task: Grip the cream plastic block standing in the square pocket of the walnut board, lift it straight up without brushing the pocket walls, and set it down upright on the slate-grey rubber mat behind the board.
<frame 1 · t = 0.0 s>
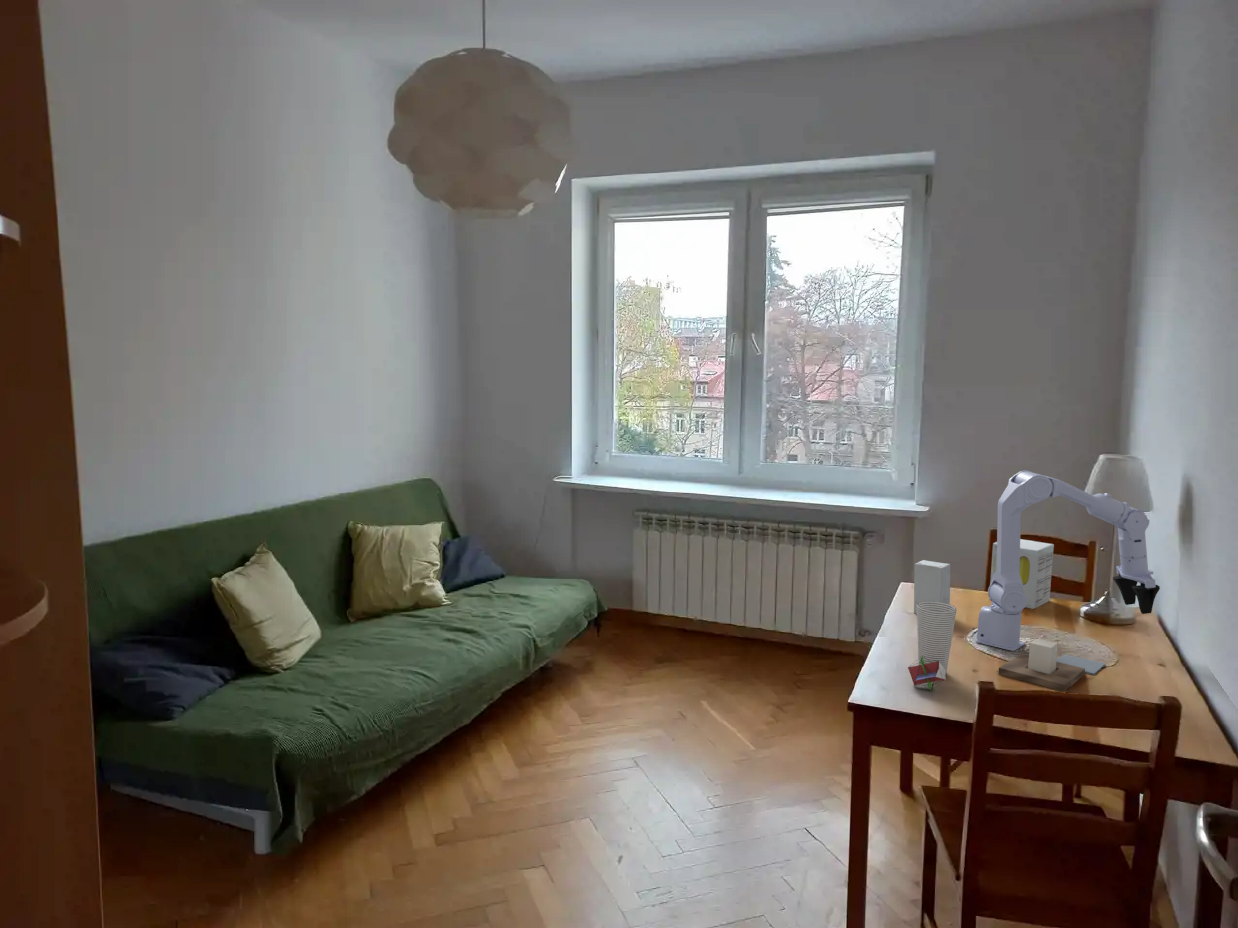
hand: (1138, 608, 210), 11 cm above the table, tool pointing down, fingers open, 7 cm apart
skincare box: (930, 615, 238), on the table
pocket board: (1041, 674, 193), on the table
slate mat: (1078, 664, 200), on the table
supplement box: (1018, 601, 254), on the table
cream block: (1042, 658, 193), in the pocket board
cup: (932, 672, 194), on the table
geometric puzzle: (925, 688, 185), on the table
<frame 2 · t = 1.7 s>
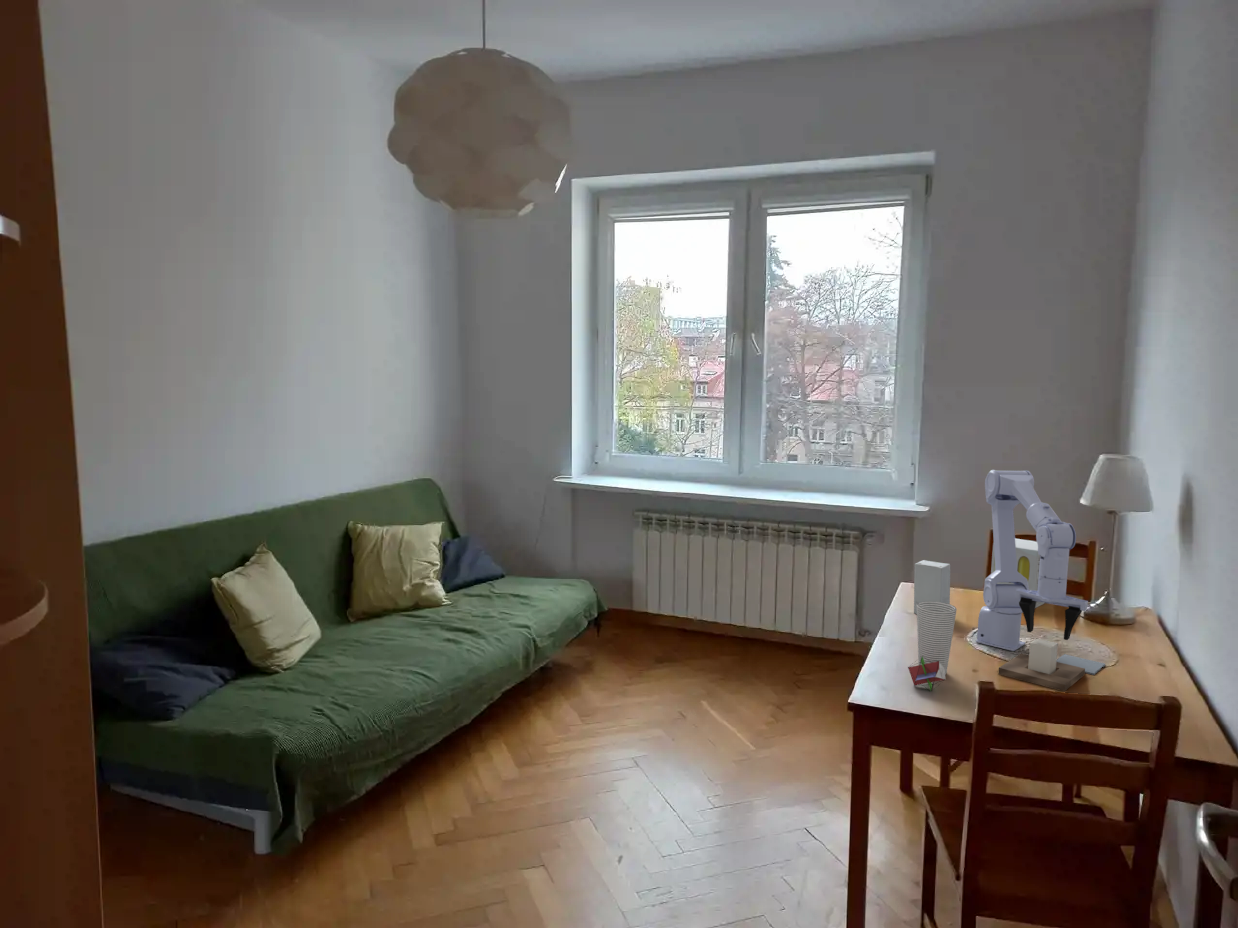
hand: (1048, 634, 192), 9 cm above the table, tool pointing down, fingers open, 7 cm apart
nothing on the table moved.
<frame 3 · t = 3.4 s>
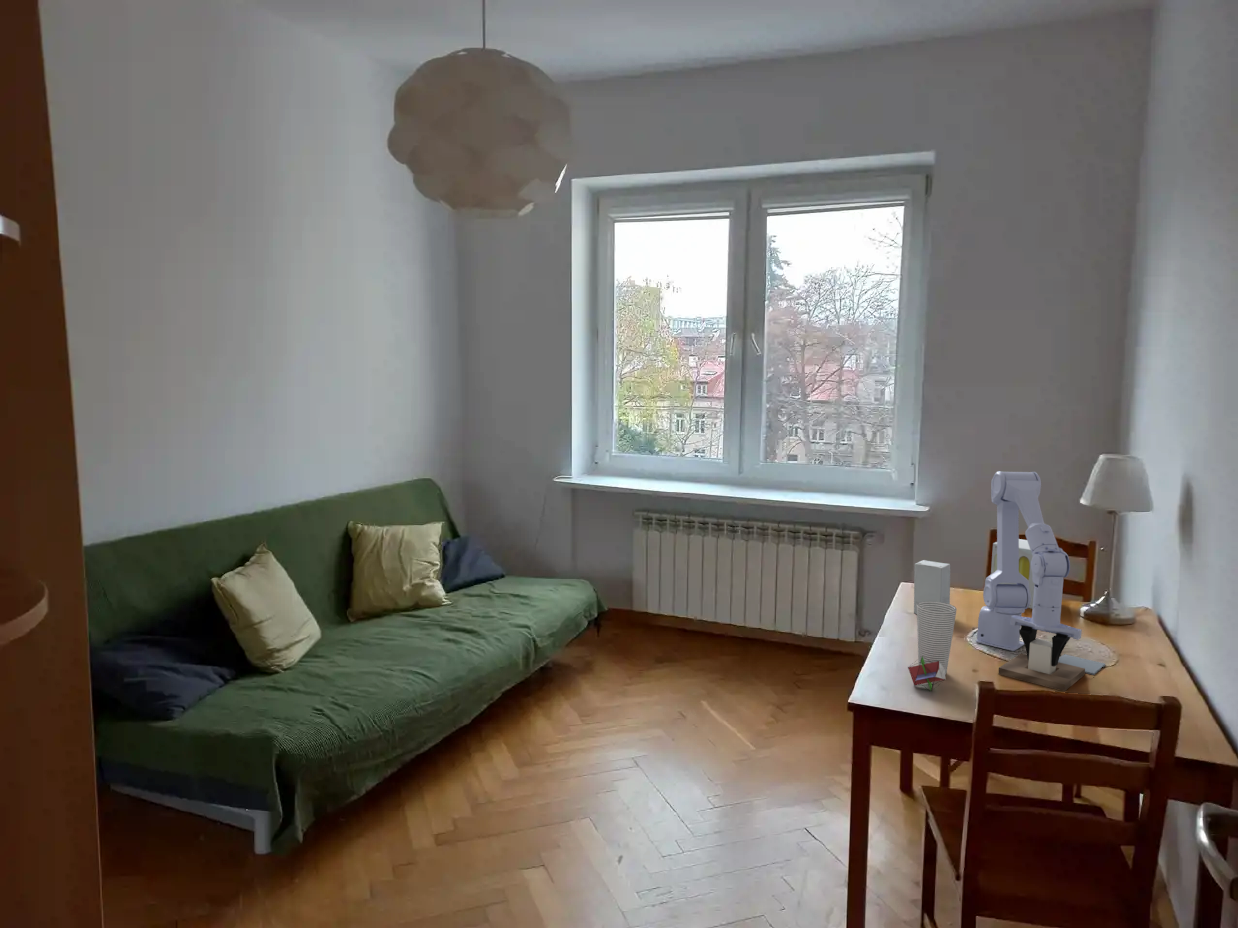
hand: (1042, 662, 193), 3 cm above the table, tool pointing down, fingers closed on cream block, 4 cm apart
cream block: (1042, 658, 193), in the pocket board, touching gripper
everything else where it was.
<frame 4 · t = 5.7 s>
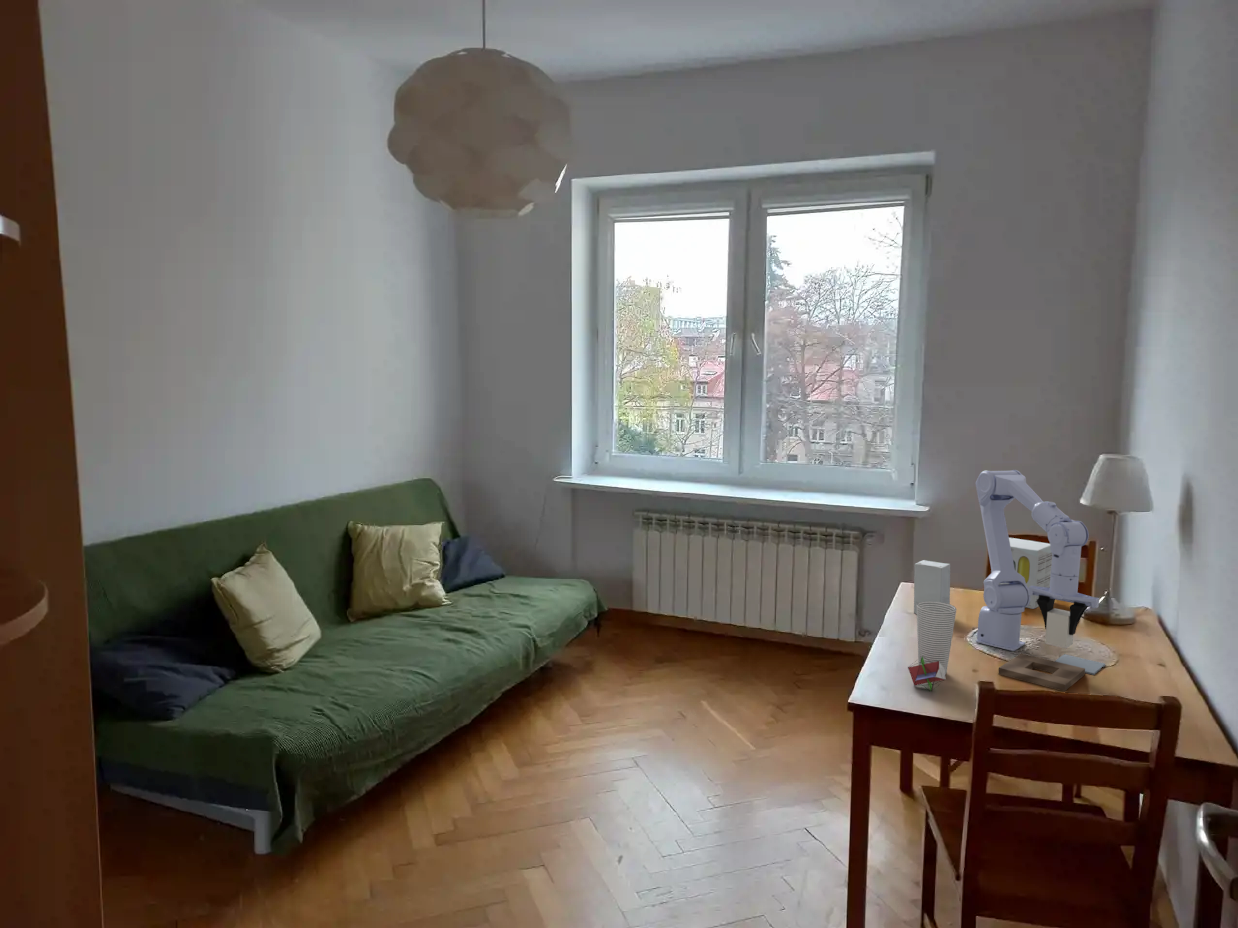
hand: (1059, 631, 195), 9 cm above the table, tool pointing down, fingers closed on cream block, 4 cm apart
cream block: (1060, 628, 195), point 10 cm above the table, touching gripper
everything else where it was.
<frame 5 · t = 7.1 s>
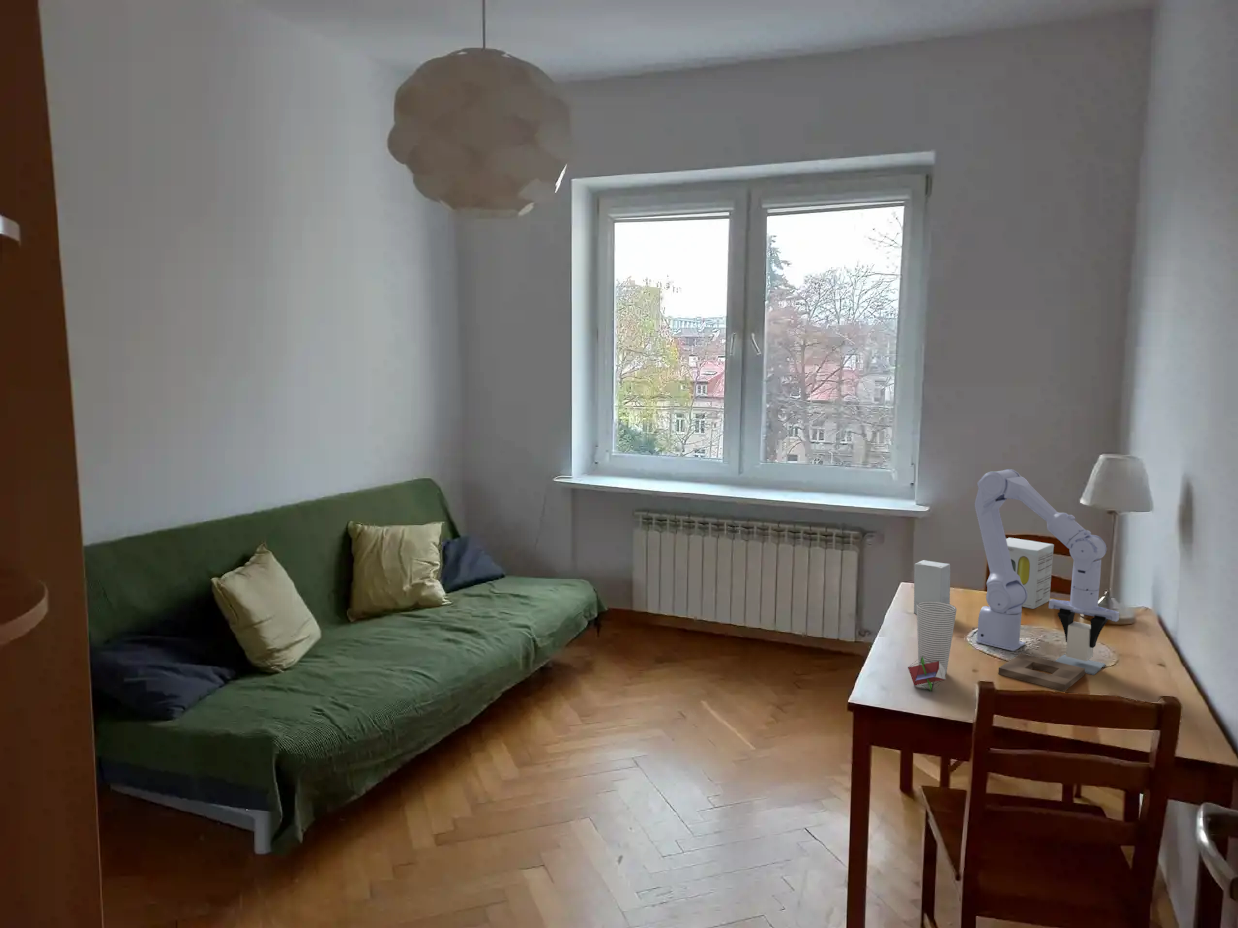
hand: (1080, 643, 199), 5 cm above the table, tool pointing down, fingers closed on cream block, 4 cm apart
cream block: (1080, 641, 199), point 6 cm above the table, touching gripper
everything else where it was.
when the fingers open (5 cm above the table, at t = 8.1 s): cream block drops 1 cm, resting on slate mat.
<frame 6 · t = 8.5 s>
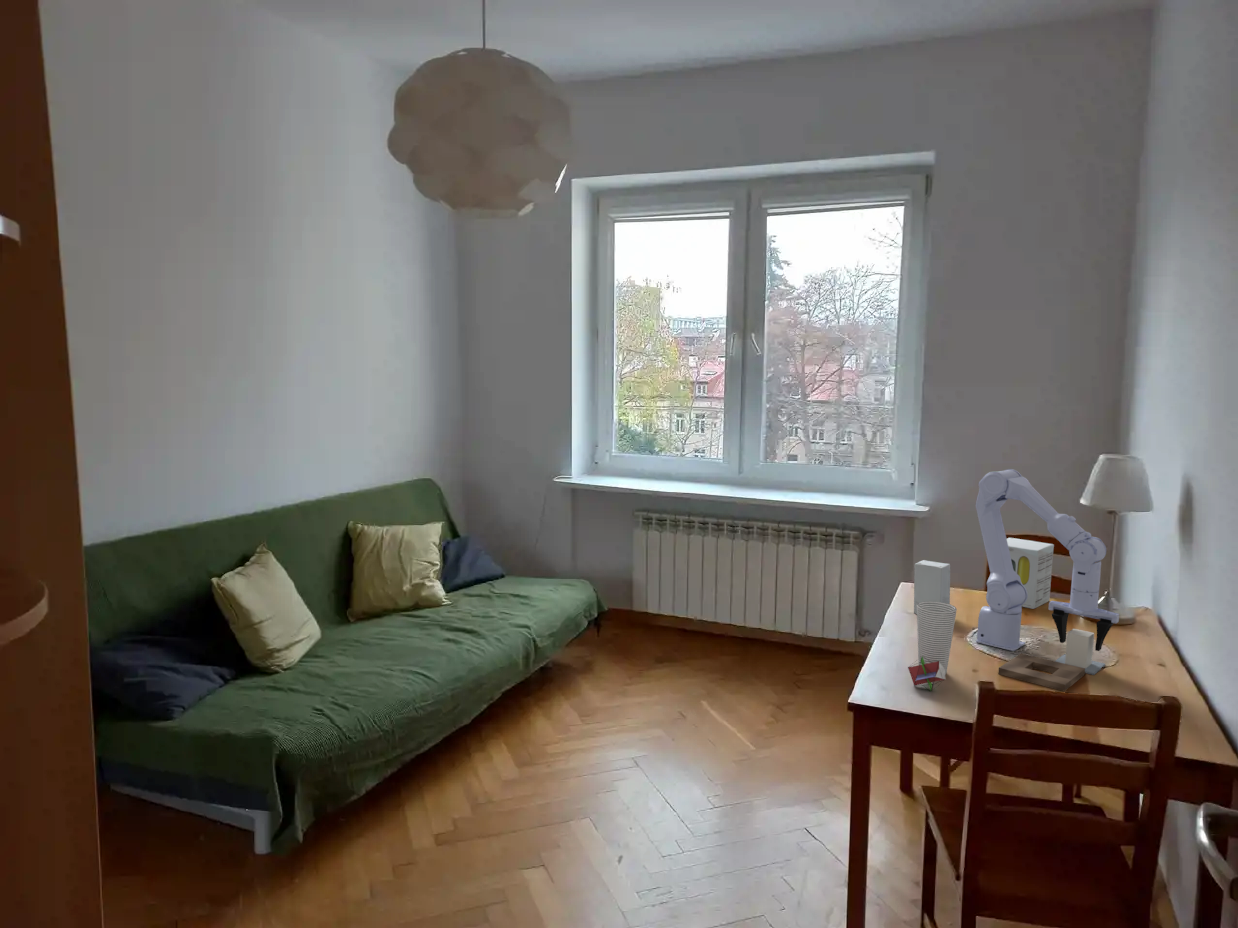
hand: (1080, 645, 199), 5 cm above the table, tool pointing down, fingers open, 7 cm apart
cream block: (1079, 648, 199), on the slate mat
everything else where it was.
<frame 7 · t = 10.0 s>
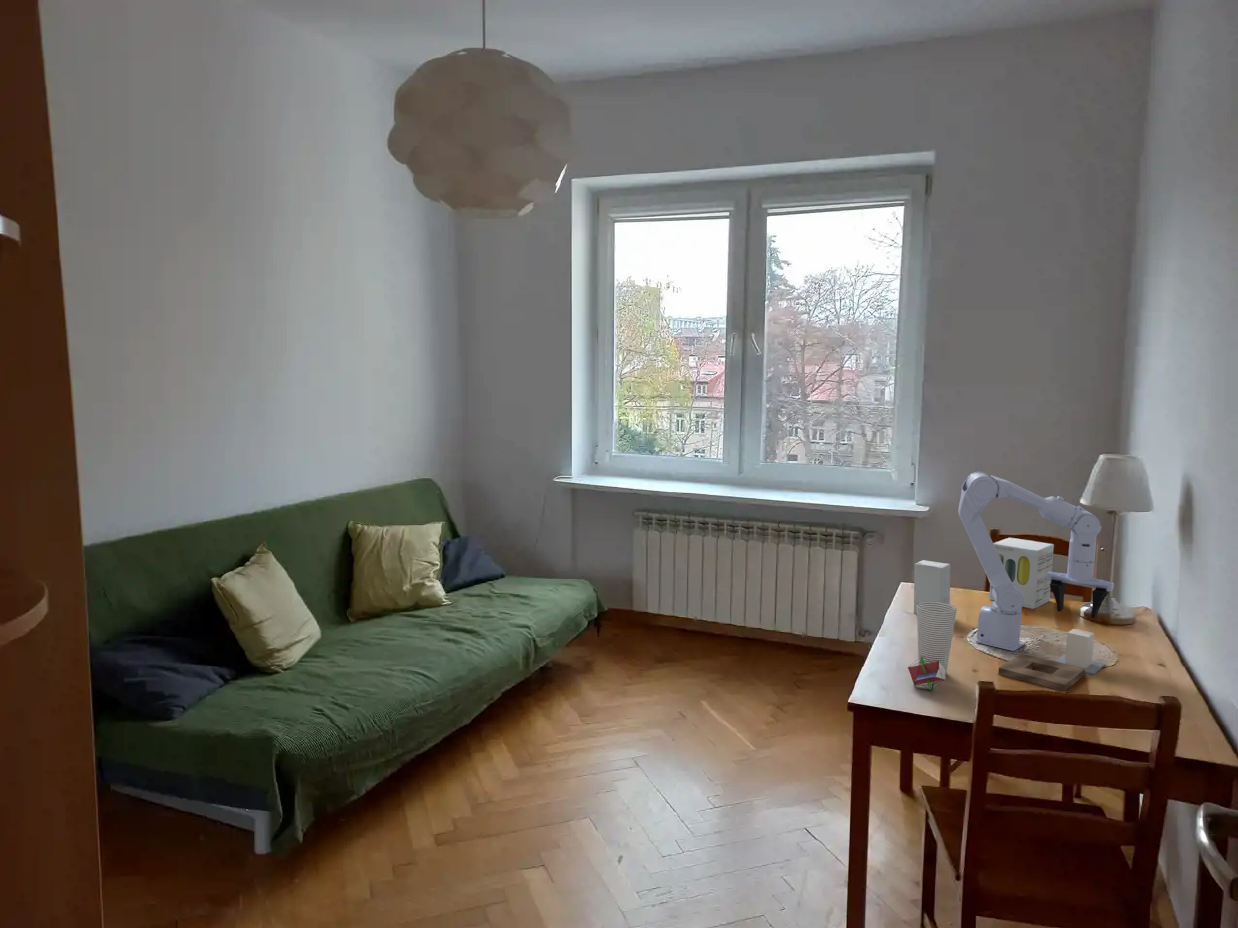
hand: (1076, 614, 208), 9 cm above the table, tool pointing down, fingers open, 7 cm apart
nothing on the table moved.
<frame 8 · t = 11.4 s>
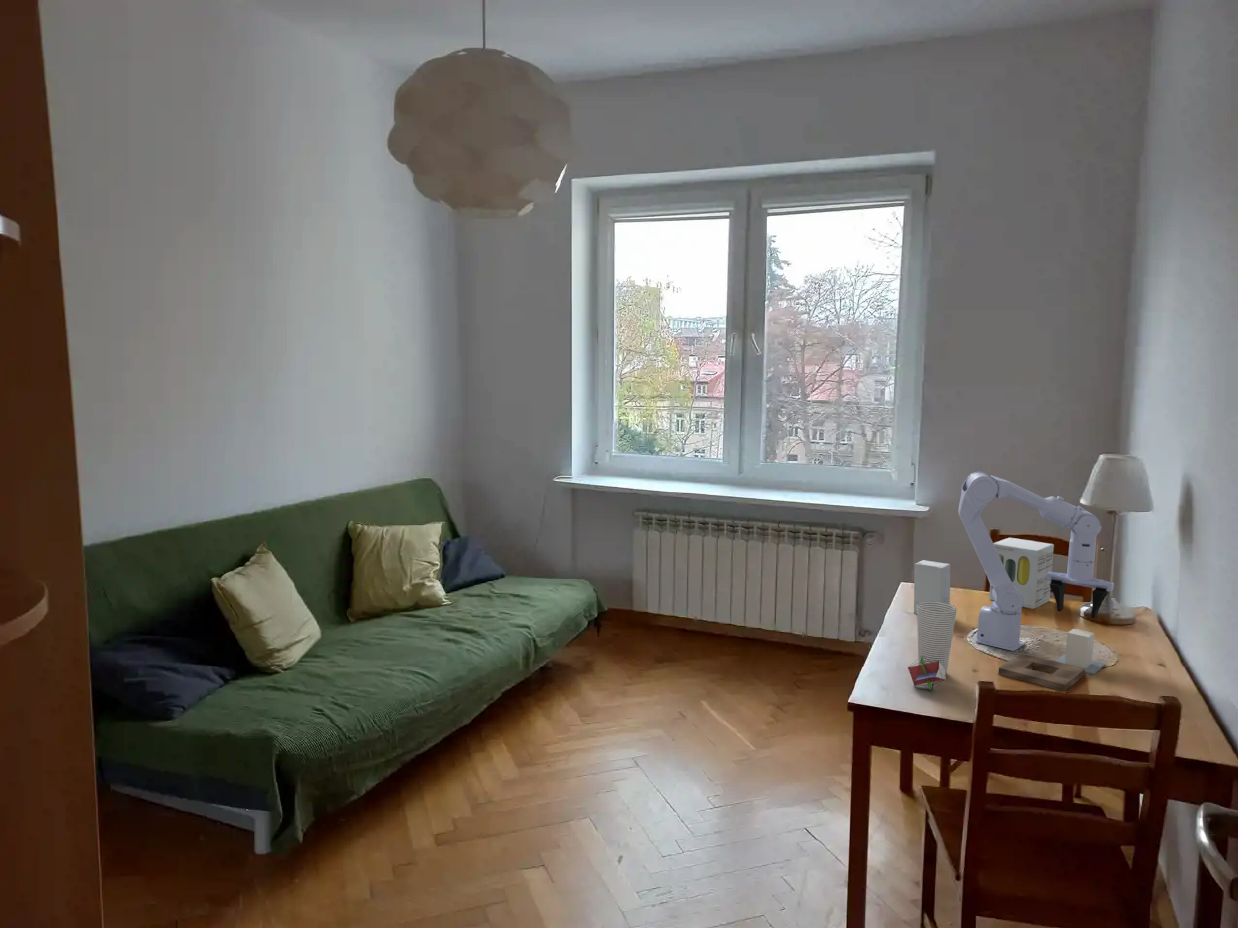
hand: (1076, 613, 208), 9 cm above the table, tool pointing down, fingers open, 7 cm apart
nothing on the table moved.
at the end: cream block 0.2 cm off-centre on the slate mat, point 4.1 cm above the slate mat's base; cream block tilted 0°; cream block touching slate mat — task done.
